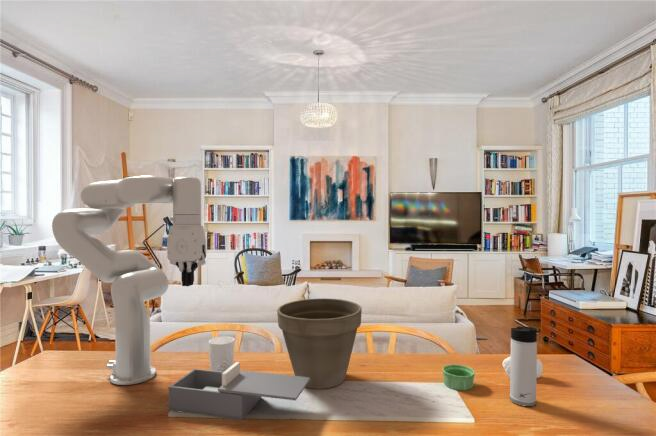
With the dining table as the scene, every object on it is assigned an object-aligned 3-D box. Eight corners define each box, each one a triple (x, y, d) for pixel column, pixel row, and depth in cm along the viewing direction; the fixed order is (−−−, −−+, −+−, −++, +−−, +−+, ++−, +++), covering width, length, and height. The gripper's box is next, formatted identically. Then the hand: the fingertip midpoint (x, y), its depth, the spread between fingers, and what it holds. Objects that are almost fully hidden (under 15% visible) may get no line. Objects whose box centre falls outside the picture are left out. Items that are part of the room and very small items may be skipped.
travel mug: (526, 409, 105) (527, 331, 105) (504, 399, 111) (505, 325, 110) (542, 404, 108) (543, 328, 107) (520, 394, 114) (521, 322, 113)
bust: (540, 383, 126) (529, 346, 133) (551, 376, 120) (539, 338, 127) (501, 383, 126) (492, 346, 133) (510, 376, 120) (500, 338, 127)
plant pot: (281, 402, 109) (281, 320, 109) (274, 366, 133) (274, 299, 133) (372, 393, 114) (372, 315, 114) (349, 361, 138) (349, 296, 138)
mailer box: (168, 410, 105) (168, 386, 105) (195, 389, 116) (194, 368, 116) (241, 419, 100) (241, 395, 100) (261, 397, 112) (261, 375, 111)
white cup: (228, 378, 125) (227, 345, 124) (203, 375, 126) (203, 343, 126) (238, 368, 132) (238, 337, 132) (216, 366, 134) (215, 335, 134)
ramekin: (439, 388, 118) (439, 372, 118) (445, 376, 126) (445, 362, 126) (472, 394, 114) (472, 378, 114) (476, 382, 122) (476, 367, 122)
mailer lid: (217, 391, 101) (217, 376, 101) (239, 372, 113) (239, 359, 113) (295, 400, 97) (295, 385, 96) (310, 379, 108) (310, 366, 108)
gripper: (155, 221, 116) (156, 286, 116) (204, 221, 112) (204, 289, 112) (172, 220, 123) (172, 282, 123) (217, 220, 119) (218, 284, 120)
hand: (187, 285), depth 118 cm, fingers closed
